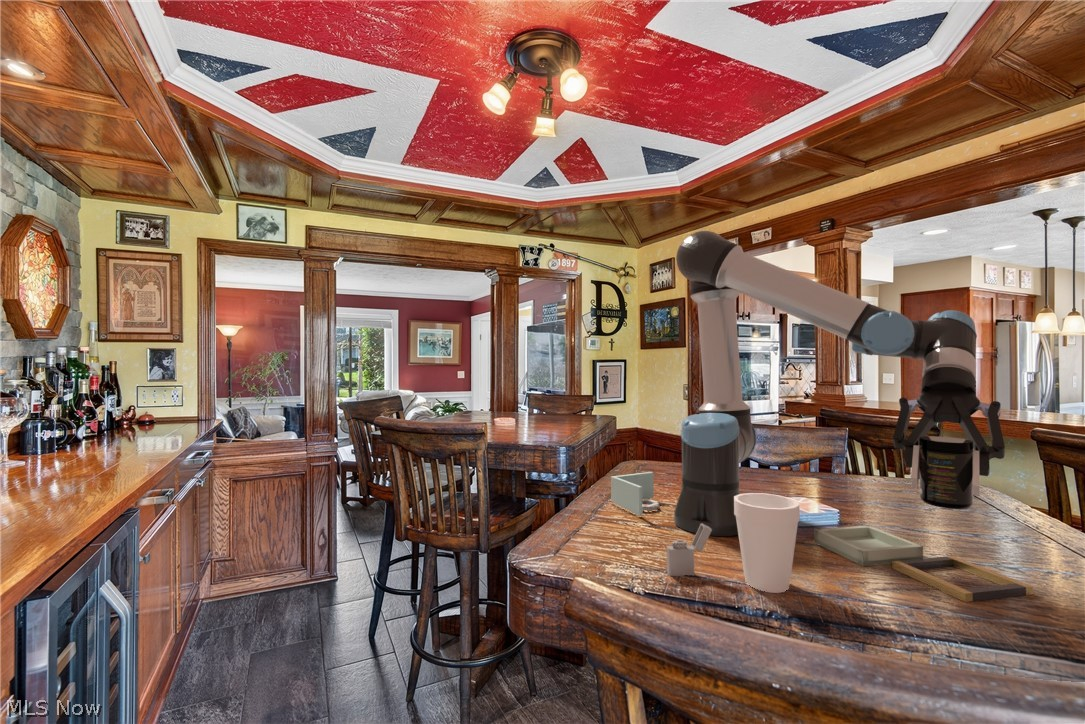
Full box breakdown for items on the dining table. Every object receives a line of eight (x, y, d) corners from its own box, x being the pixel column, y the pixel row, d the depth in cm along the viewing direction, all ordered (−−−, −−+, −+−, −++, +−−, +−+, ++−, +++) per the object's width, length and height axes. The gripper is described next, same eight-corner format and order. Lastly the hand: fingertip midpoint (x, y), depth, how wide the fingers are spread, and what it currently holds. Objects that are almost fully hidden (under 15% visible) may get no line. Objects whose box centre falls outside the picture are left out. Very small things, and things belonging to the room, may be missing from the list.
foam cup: (724, 572, 82) (723, 493, 82) (777, 569, 83) (776, 492, 83) (753, 599, 72) (752, 510, 73) (813, 596, 73) (812, 508, 73)
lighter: (669, 576, 81) (669, 526, 81) (666, 571, 82) (666, 523, 82) (712, 575, 81) (712, 526, 81) (708, 570, 83) (708, 522, 83)
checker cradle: (965, 602, 71) (965, 593, 71) (892, 568, 83) (892, 561, 83) (1032, 594, 73) (1032, 586, 73) (952, 562, 85) (952, 555, 85)
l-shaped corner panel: (639, 520, 112) (638, 487, 112) (611, 506, 123) (610, 476, 123) (682, 513, 116) (681, 481, 116) (651, 500, 127) (650, 471, 127)
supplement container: (979, 512, 75) (979, 444, 75) (924, 507, 78) (924, 440, 78) (966, 501, 81) (965, 437, 81) (915, 496, 84) (914, 435, 84)
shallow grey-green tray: (863, 566, 84) (862, 551, 84) (814, 542, 95) (814, 529, 95) (923, 560, 86) (922, 546, 86) (868, 538, 97) (868, 525, 97)
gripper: (1023, 395, 85) (1031, 512, 72) (884, 391, 98) (871, 489, 85) (1025, 364, 81) (1034, 482, 68) (880, 364, 94) (866, 463, 81)
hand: (944, 486), depth 77 cm, fingers closed on supplement container, 7 cm apart
